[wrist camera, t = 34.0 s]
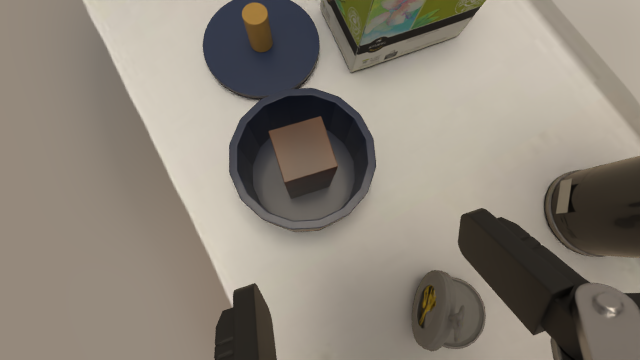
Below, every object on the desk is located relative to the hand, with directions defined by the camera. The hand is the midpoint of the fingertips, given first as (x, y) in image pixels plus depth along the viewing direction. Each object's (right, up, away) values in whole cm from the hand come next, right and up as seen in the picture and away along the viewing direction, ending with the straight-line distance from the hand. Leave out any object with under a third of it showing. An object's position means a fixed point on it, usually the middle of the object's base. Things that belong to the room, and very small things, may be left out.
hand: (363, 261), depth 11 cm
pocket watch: (+10, -10, +19) cm, 24 cm away
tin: (-3, +4, +21) cm, 22 cm away
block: (-3, +4, +21) cm, 21 cm away
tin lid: (-8, +19, +24) cm, 31 cm away
